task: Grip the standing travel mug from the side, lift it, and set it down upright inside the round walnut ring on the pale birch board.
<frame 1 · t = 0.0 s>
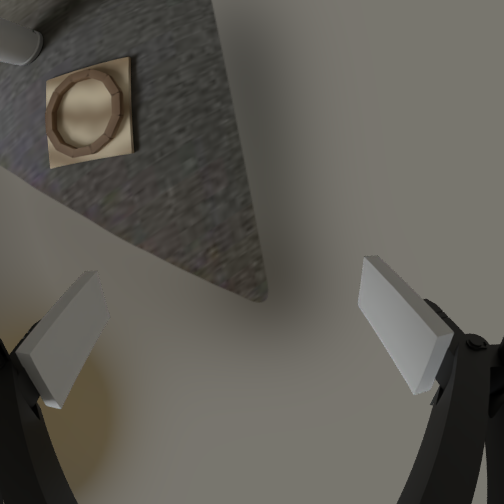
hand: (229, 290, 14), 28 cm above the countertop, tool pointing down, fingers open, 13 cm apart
mug stand: (87, 113, 34), on the countertop
travel mug: (30, 48, 29), on the countertop
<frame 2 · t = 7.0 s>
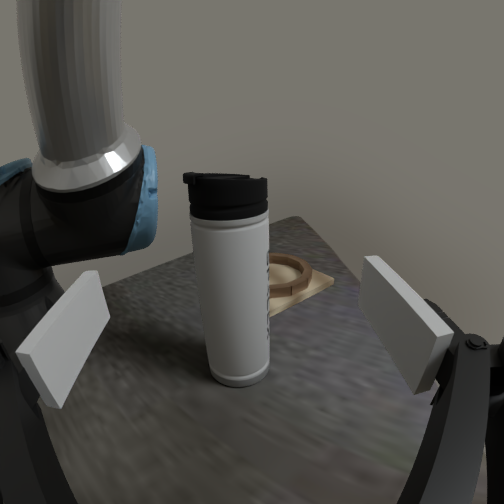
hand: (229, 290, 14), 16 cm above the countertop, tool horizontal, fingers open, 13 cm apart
mug stand: (270, 283, 47), on the countertop
travel mug: (238, 369, 30), on the countertop
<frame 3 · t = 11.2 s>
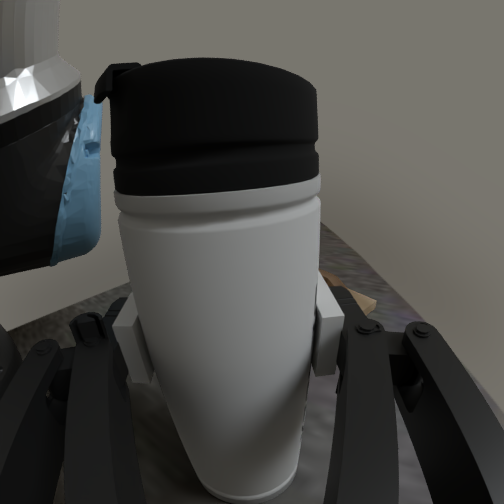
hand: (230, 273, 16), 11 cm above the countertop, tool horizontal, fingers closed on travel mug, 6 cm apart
mug stand: (287, 308, 32), on the countertop
travel mug: (244, 467, 15), on the countertop, touching gripper
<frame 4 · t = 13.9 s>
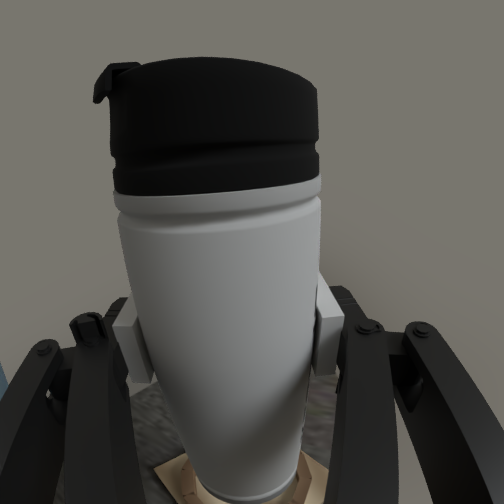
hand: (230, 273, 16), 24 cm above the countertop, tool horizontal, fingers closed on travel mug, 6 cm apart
mug stand: (246, 485, 23), on the countertop
travel mug: (244, 467, 15), point 13 cm above the countertop, touching gripper
when the fingers open (13 cm above the countertop, at t = 16.7 s): travel mug stays where it is, resting on mug stand.
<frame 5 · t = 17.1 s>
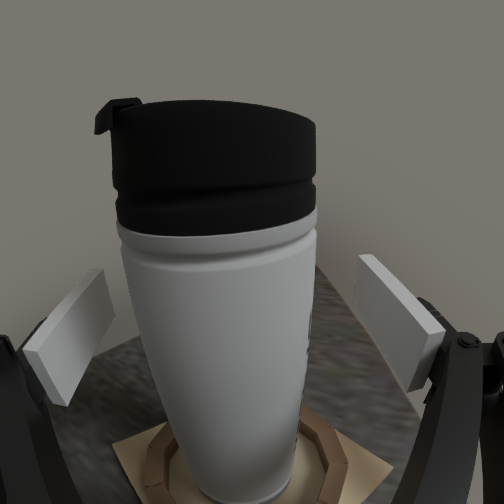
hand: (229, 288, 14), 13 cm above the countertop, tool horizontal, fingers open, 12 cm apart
mug stand: (246, 477, 16), on the countertop
travel mug: (240, 474, 15), point 1 cm above the countertop, touching mug stand
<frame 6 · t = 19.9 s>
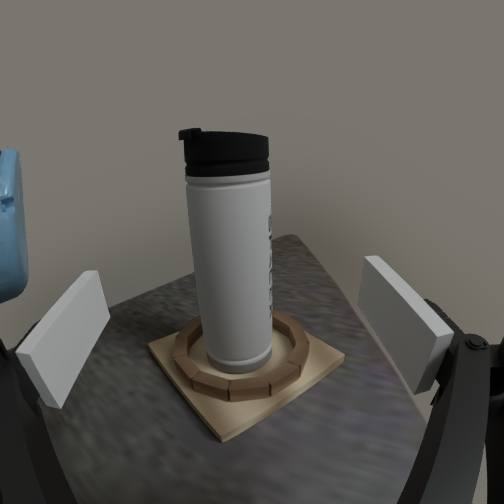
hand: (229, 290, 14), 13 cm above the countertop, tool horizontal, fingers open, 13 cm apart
mug stand: (241, 360, 28), on the countertop
travel mug: (238, 355, 28), point 1 cm above the countertop, touching mug stand
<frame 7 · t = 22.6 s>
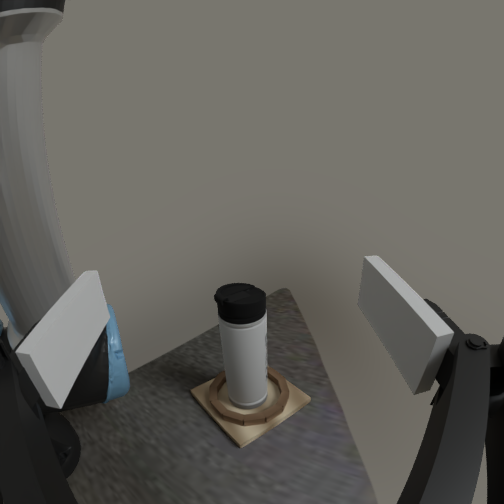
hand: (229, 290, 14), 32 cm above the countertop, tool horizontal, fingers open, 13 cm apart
mug stand: (249, 399, 45), on the countertop
travel mug: (247, 397, 44), point 1 cm above the countertop, touching mug stand
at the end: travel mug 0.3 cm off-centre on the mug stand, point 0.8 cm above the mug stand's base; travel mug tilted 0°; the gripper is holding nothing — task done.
